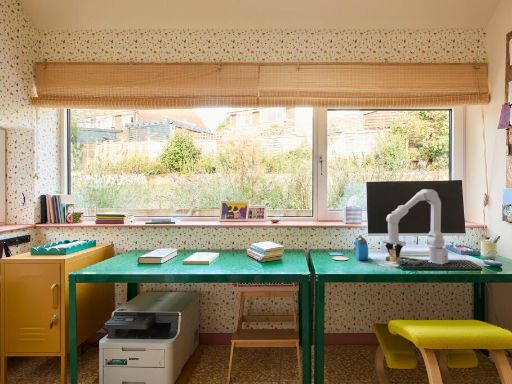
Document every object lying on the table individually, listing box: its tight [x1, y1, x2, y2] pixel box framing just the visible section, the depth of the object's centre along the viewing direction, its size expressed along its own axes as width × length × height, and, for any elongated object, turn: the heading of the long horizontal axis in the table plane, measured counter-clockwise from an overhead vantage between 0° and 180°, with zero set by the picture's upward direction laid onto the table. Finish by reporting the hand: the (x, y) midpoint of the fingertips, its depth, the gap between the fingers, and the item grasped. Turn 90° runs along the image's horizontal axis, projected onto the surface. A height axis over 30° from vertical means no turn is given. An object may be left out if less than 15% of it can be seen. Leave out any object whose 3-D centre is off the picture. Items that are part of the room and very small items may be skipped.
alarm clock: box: [354, 235, 369, 261], centre depth 229 cm, size 13×6×15 cm, turn 176°
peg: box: [389, 248, 401, 262], centre depth 212 cm, size 4×4×7 cm
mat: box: [383, 261, 400, 268], centre depth 212 cm, size 9×9×1 cm
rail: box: [385, 255, 424, 265], centre depth 217 cm, size 20×8×2 cm, turn 33°
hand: (394, 256), depth 212 cm, fingers closed on peg, 4 cm apart
